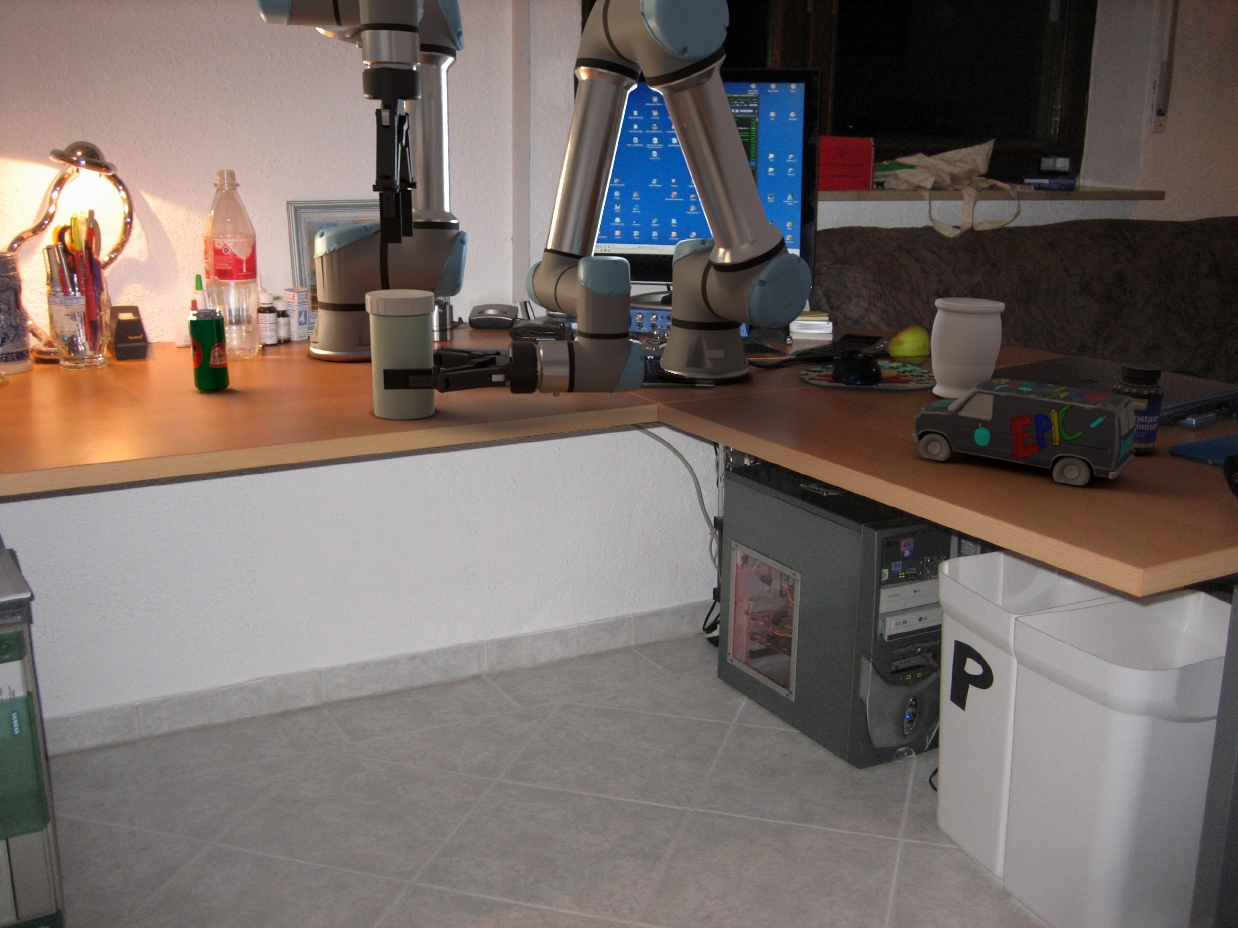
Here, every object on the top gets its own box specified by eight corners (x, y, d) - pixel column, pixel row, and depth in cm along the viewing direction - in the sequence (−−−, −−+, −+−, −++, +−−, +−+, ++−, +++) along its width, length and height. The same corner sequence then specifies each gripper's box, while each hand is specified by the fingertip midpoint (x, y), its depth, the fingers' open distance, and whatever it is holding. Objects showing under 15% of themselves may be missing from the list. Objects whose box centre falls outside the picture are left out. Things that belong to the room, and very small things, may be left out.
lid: (428, 316, 144) (428, 298, 144) (358, 315, 144) (358, 297, 144) (439, 306, 153) (439, 290, 153) (374, 305, 153) (373, 288, 153)
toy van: (935, 438, 144) (942, 365, 141) (1133, 472, 130) (1146, 392, 127) (905, 455, 135) (913, 378, 133) (1114, 493, 122) (1127, 408, 119)
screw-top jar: (429, 420, 149) (425, 301, 144) (368, 419, 149) (362, 300, 144) (439, 406, 157) (435, 293, 152) (381, 405, 157) (376, 292, 152)
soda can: (218, 393, 162) (211, 314, 158) (188, 391, 163) (180, 312, 159) (236, 386, 166) (230, 309, 163) (207, 384, 167) (200, 308, 164)
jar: (912, 390, 173) (921, 298, 169) (962, 386, 177) (972, 295, 173) (956, 405, 163) (966, 307, 159) (1008, 400, 167) (1020, 304, 163)
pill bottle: (1117, 454, 138) (1130, 370, 135) (1094, 442, 144) (1106, 361, 140) (1163, 454, 138) (1177, 370, 135) (1139, 442, 144) (1152, 361, 141)
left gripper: (376, 74, 151) (383, 233, 157) (345, 60, 129) (354, 246, 135) (430, 75, 151) (434, 233, 157) (408, 62, 129) (414, 247, 135)
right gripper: (544, 413, 143) (382, 416, 140) (529, 375, 167) (391, 377, 163) (544, 358, 141) (380, 359, 138) (529, 327, 165) (388, 328, 161)
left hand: (397, 239), depth 146 cm, fingers open, 11 cm apart
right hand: (385, 369), depth 150 cm, fingers open, 13 cm apart
